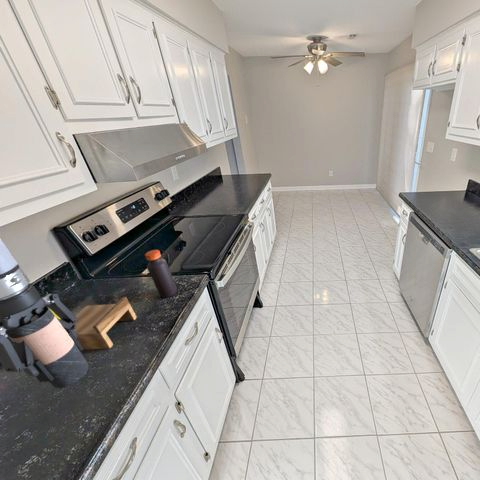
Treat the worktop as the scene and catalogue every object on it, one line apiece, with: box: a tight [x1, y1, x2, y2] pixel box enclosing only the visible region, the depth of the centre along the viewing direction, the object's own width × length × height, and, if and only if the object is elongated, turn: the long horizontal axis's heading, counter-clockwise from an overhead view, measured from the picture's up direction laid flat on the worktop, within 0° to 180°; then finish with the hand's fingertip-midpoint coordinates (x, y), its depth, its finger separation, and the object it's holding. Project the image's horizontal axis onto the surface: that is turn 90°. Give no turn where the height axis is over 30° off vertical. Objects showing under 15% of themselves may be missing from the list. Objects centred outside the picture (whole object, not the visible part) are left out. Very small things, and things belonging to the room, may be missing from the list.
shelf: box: [74, 296, 137, 351], centre depth 88 cm, size 16×14×10 cm
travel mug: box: [5, 305, 89, 389], centre depth 61 cm, size 8×8×20 cm
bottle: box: [144, 249, 178, 299], centre depth 104 cm, size 7×7×20 cm
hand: (63, 364), depth 63 cm, fingers closed on travel mug, 8 cm apart
